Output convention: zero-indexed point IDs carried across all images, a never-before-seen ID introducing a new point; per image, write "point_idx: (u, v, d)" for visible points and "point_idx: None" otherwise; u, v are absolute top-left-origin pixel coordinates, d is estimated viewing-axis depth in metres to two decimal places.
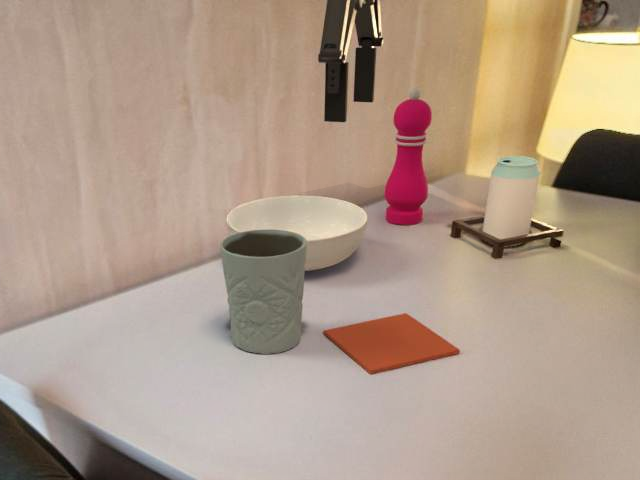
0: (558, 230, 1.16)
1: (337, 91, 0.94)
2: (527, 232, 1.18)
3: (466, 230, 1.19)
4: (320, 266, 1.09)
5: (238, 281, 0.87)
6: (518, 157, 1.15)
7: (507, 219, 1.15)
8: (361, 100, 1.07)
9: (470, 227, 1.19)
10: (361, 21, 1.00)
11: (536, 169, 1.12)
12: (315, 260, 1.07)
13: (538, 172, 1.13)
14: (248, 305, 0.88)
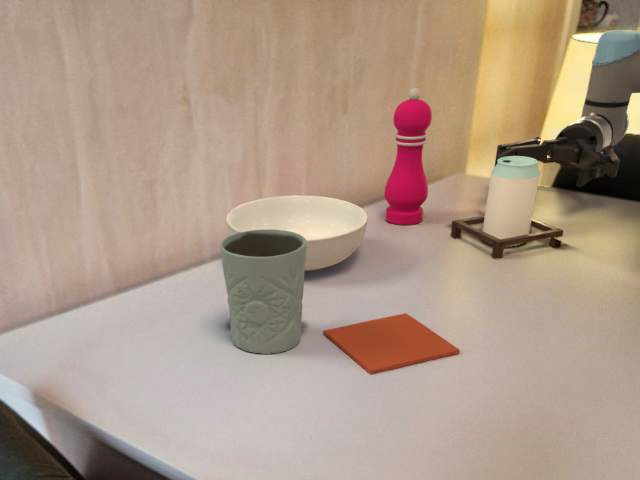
0: (558, 230, 1.16)
1: (596, 177, 1.20)
2: (527, 232, 1.18)
3: (466, 230, 1.19)
4: (320, 266, 1.09)
5: (238, 281, 0.87)
6: (518, 157, 1.15)
7: (507, 219, 1.15)
8: None
9: (470, 227, 1.19)
10: (531, 152, 1.30)
11: (536, 169, 1.12)
12: (315, 260, 1.07)
13: (538, 172, 1.13)
14: (248, 305, 0.88)
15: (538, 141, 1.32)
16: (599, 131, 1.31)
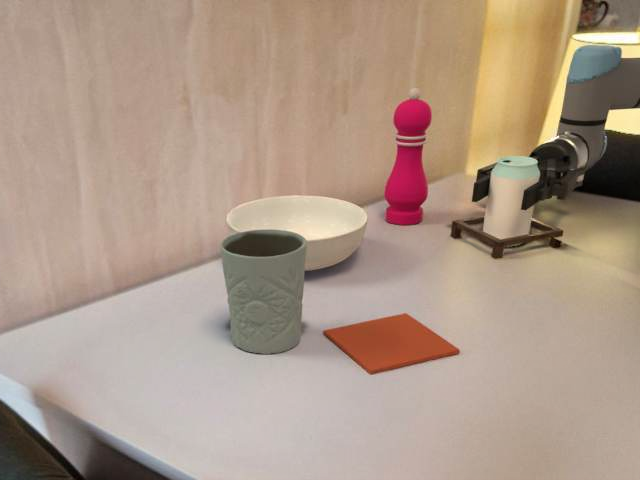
0: (558, 230, 1.16)
1: (542, 199, 1.13)
2: (527, 232, 1.18)
3: (466, 230, 1.19)
4: (320, 266, 1.09)
5: (238, 281, 0.87)
6: (518, 157, 1.15)
7: (507, 219, 1.15)
8: (478, 191, 1.14)
9: (470, 227, 1.19)
10: None
11: (536, 169, 1.12)
12: (315, 260, 1.07)
13: (538, 172, 1.13)
14: (248, 305, 0.88)
15: None
16: (573, 151, 1.23)
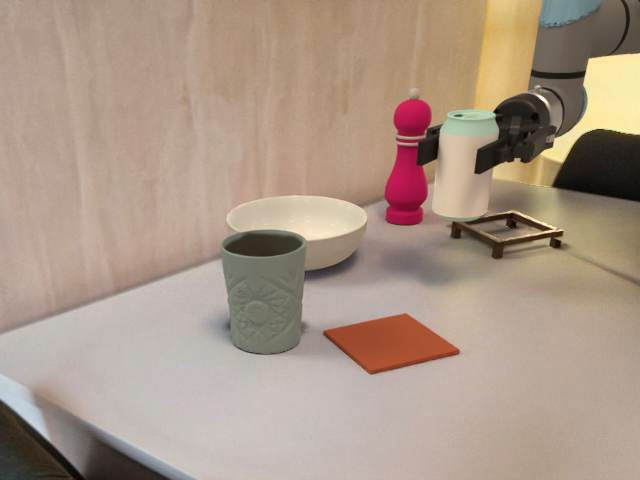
0: (558, 230, 1.16)
1: (501, 162, 0.92)
2: (485, 203, 0.97)
3: (466, 230, 1.19)
4: (320, 266, 1.09)
5: (238, 281, 0.87)
6: (473, 111, 0.95)
7: (459, 186, 0.95)
8: (423, 152, 0.94)
9: (470, 227, 1.19)
10: None
11: (493, 124, 0.92)
12: (315, 260, 1.07)
13: (496, 128, 0.92)
14: (248, 305, 0.88)
15: None
16: (544, 107, 1.02)
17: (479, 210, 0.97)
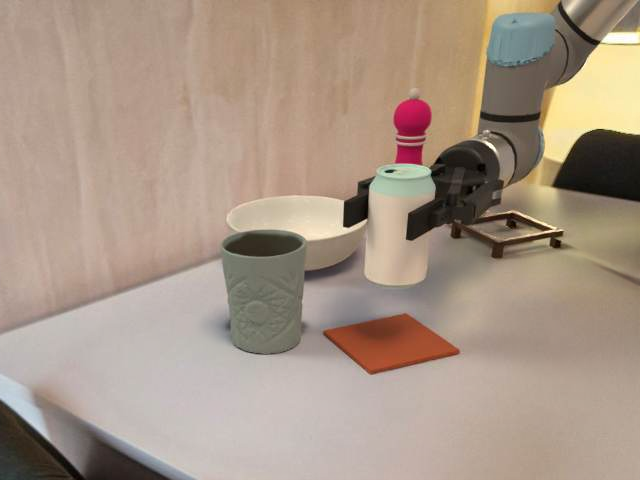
0: (558, 230, 1.16)
1: (438, 225, 0.80)
2: (422, 269, 0.85)
3: (466, 230, 1.19)
4: (320, 266, 1.09)
5: (238, 281, 0.87)
6: (407, 165, 0.83)
7: (392, 251, 0.83)
8: (350, 213, 0.82)
9: (470, 227, 1.19)
10: None
11: (428, 183, 0.80)
12: (315, 260, 1.07)
13: (432, 187, 0.80)
14: (248, 305, 0.88)
15: None
16: (492, 156, 0.91)
17: (416, 277, 0.85)
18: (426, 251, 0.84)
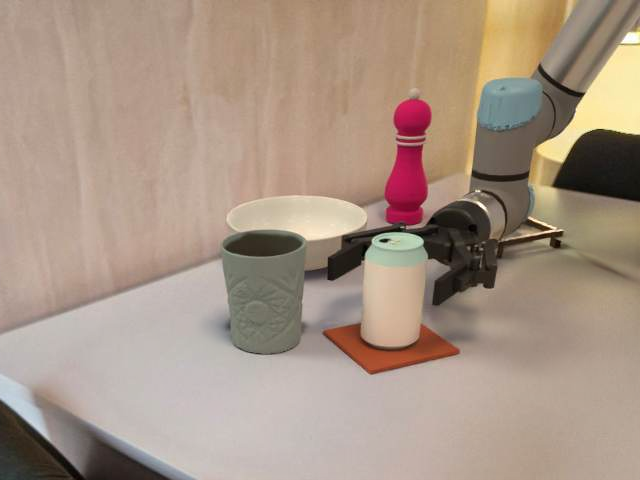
0: (558, 230, 1.16)
1: (462, 290, 0.84)
2: (416, 331, 0.90)
3: None
4: (320, 266, 1.09)
5: (238, 281, 0.87)
6: (401, 234, 0.87)
7: (386, 316, 0.87)
8: (333, 267, 0.89)
9: None
10: None
11: (421, 253, 0.84)
12: (315, 260, 1.07)
13: (424, 256, 0.85)
14: (248, 305, 0.88)
15: (401, 228, 0.96)
16: (483, 217, 0.95)
17: (409, 339, 0.89)
18: (419, 314, 0.89)
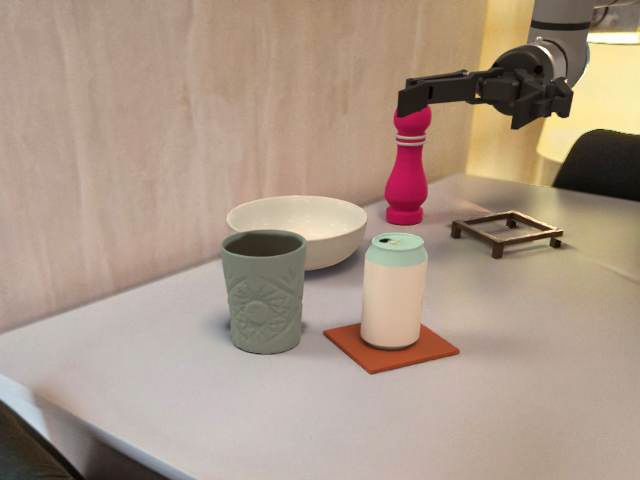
0: (558, 230, 1.16)
1: (540, 116, 0.83)
2: (416, 331, 0.90)
3: (466, 230, 1.19)
4: (320, 266, 1.09)
5: (238, 281, 0.87)
6: (401, 234, 0.87)
7: (386, 316, 0.87)
8: (404, 102, 0.87)
9: (470, 227, 1.19)
10: (452, 88, 0.92)
11: (421, 253, 0.84)
12: (315, 260, 1.07)
13: (424, 256, 0.85)
14: (248, 305, 0.88)
15: (464, 75, 0.95)
16: (547, 59, 0.94)
17: (409, 339, 0.89)
18: (419, 314, 0.89)
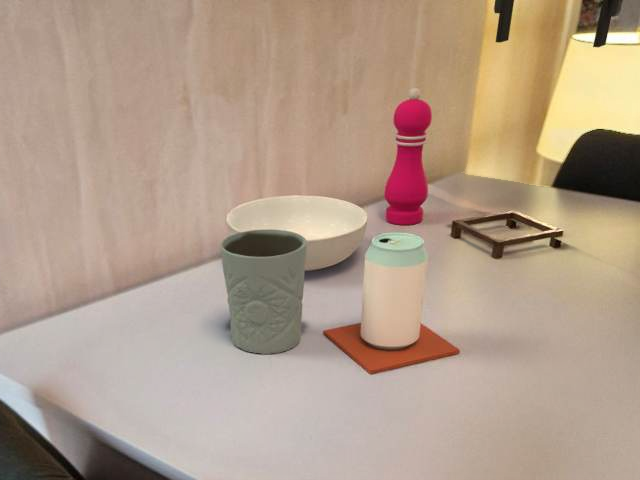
0: (558, 230, 1.16)
1: (618, 13, 0.99)
2: (416, 331, 0.90)
3: (466, 230, 1.19)
4: (320, 266, 1.09)
5: (238, 281, 0.87)
6: (401, 234, 0.87)
7: (386, 316, 0.87)
8: (504, 39, 1.08)
9: (470, 227, 1.19)
10: None
11: (421, 253, 0.84)
12: (315, 260, 1.07)
13: (424, 256, 0.85)
14: (248, 305, 0.88)
15: None
16: None
17: (409, 339, 0.89)
18: (419, 314, 0.89)
